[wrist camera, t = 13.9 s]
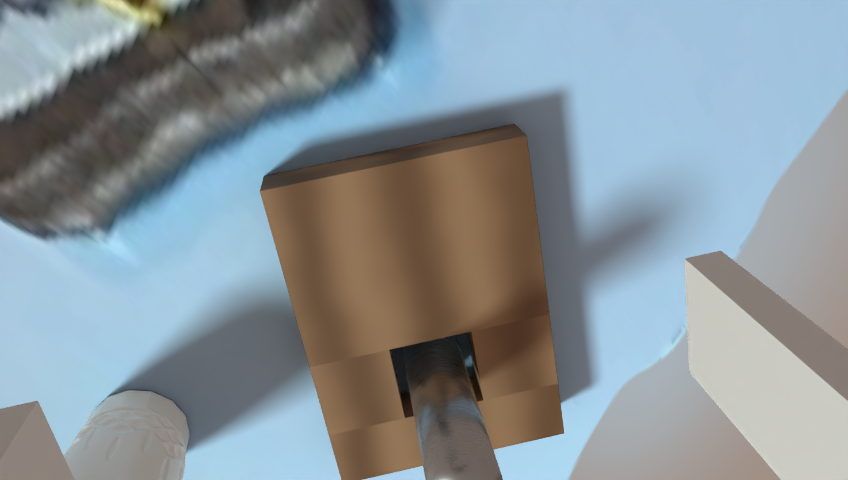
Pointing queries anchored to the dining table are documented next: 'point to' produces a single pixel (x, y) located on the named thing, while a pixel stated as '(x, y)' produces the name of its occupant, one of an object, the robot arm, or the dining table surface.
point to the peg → (447, 414)
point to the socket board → (418, 287)
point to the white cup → (131, 440)
